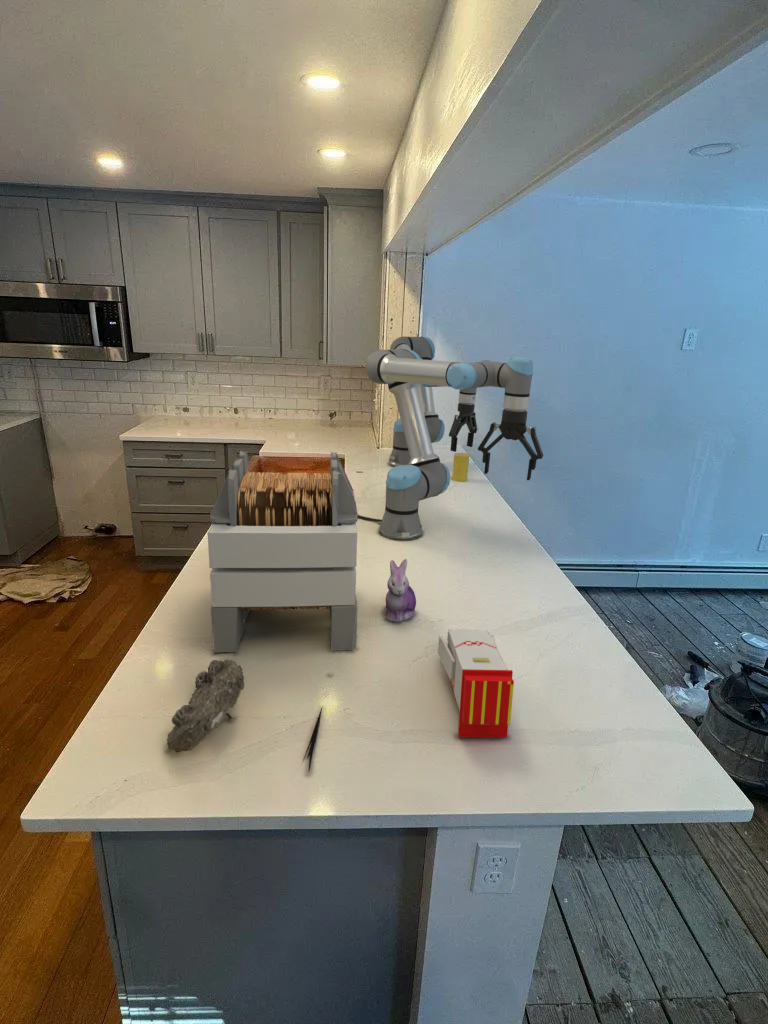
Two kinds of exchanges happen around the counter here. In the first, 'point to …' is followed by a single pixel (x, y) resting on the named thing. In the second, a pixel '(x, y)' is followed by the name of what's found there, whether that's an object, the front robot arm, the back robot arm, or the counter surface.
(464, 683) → the toy
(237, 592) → the grey record crate
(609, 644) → the counter surface
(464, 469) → the tin
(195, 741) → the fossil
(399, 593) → the figurine
